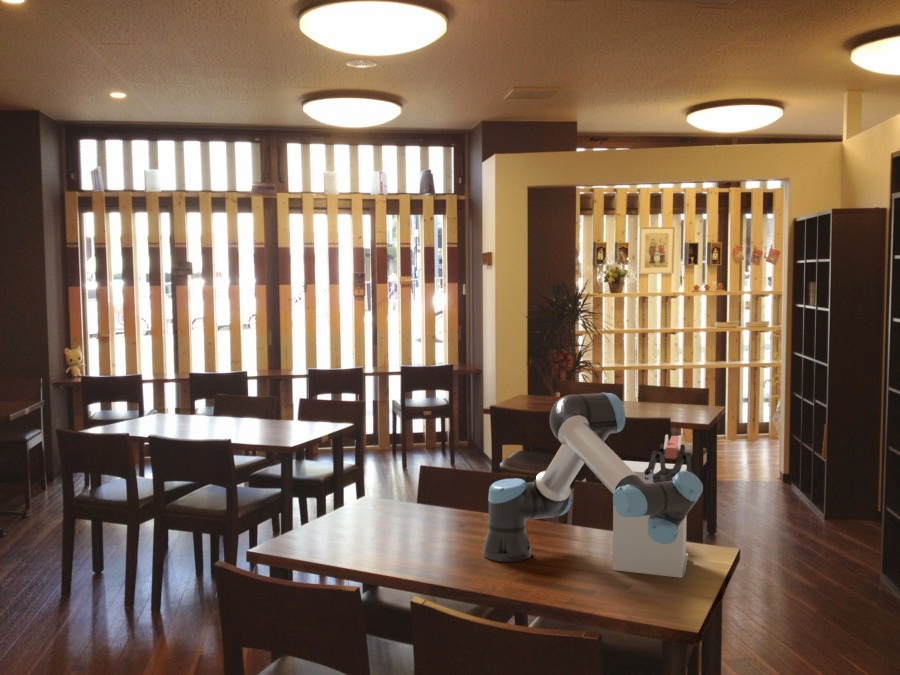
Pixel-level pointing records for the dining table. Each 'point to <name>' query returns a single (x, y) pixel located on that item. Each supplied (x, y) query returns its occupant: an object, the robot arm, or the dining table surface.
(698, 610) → the dining table surface
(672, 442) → the lever bar
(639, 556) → the white upright block
